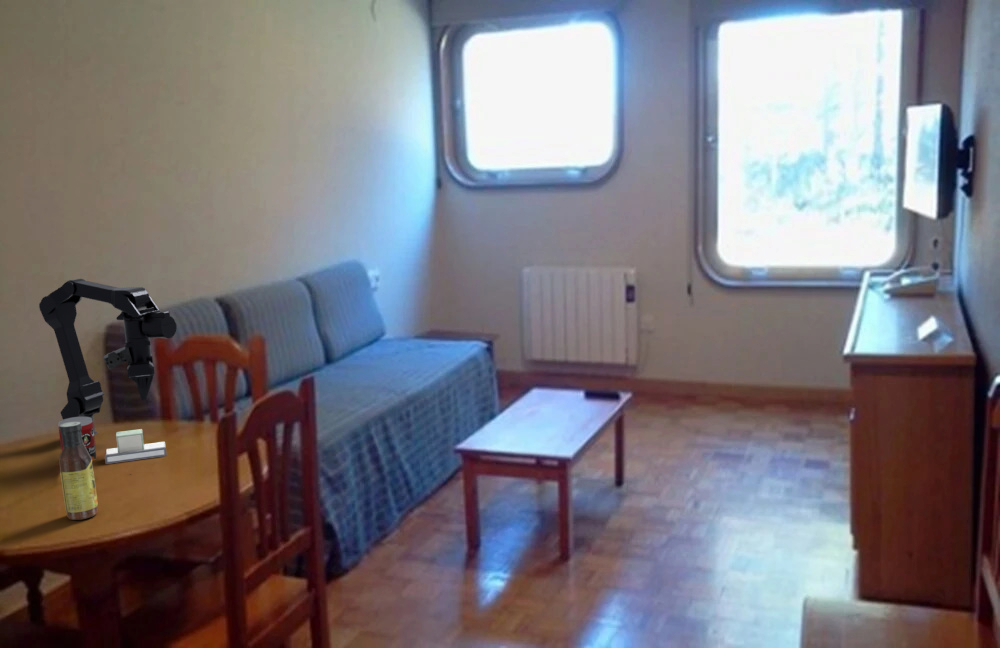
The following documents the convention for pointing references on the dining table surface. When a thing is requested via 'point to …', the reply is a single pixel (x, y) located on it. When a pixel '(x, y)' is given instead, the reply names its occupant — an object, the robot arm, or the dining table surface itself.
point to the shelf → (136, 453)
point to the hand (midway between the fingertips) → (143, 396)
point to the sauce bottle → (77, 474)
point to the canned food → (83, 433)
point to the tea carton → (130, 440)
